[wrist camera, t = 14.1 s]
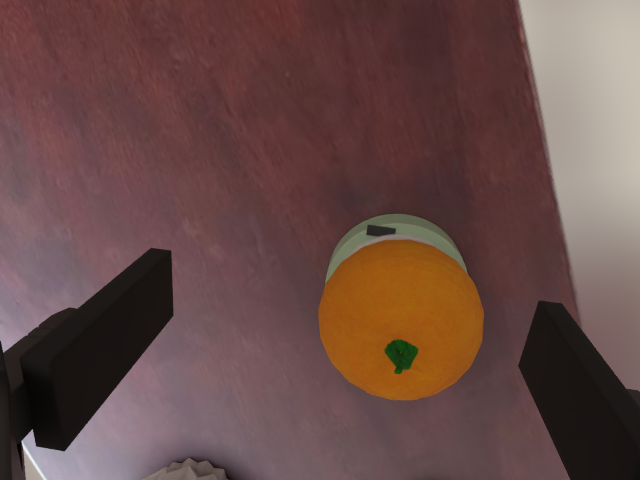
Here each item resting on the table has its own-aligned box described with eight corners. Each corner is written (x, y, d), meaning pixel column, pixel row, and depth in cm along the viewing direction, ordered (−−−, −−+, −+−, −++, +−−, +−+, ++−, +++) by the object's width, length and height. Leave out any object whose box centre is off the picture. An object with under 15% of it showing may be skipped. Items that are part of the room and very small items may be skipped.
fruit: (367, 375, 40) (365, 470, 30) (296, 267, 37) (270, 335, 27) (496, 321, 36) (538, 409, 27) (430, 197, 33) (451, 248, 24)
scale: (478, 223, 37) (486, 237, 34) (448, 344, 41) (453, 364, 38) (336, 204, 38) (333, 216, 35) (321, 324, 42) (317, 343, 39)
